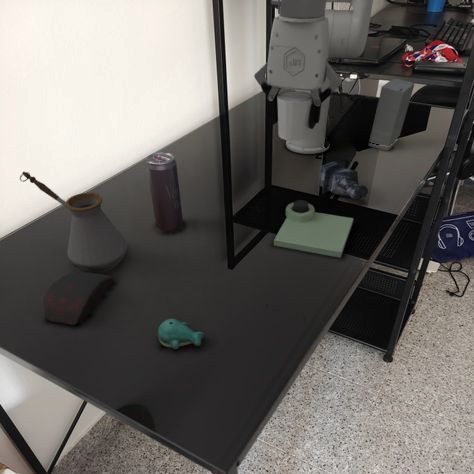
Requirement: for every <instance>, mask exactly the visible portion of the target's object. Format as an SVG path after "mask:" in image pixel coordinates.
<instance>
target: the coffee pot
mask: <svg viewBox="0 0 474 474" xmlns="http://www.w3.org/2000/svg"><path fill="white" fill-rule="evenodd" d="M23 176H24V177H25V178H26V179H24V180H22V177H23ZM19 180H20V182H23V183H24V182H26V181H28V180H29V182H30V183H31V184H34V185H35V186H36V188H38V189H39V190H40V191H42V192H43V193H44V194H46V195H48V196H49V197H50V198H52V199H53V200H55V201H56V202H58V203H60V204H61V205H62V206H63V207H64V208H66V209H67V210H69V211H70V212H71V214H72V215H71V221H70V222H71V223H70V230H69V237H68V245H67V252H66V254H67V257H68V259H69V261H71V263H72V264H74V266H75V267H78V268H80V269H82V270H85V271H88V272H90V273H102V272H106V271H109V270H112V269H113V268H115V267H117V266H118V265H119V263H120V262H121V261H122V260H123V259H124V257H125V256H126V253H127V251H128V250H127V249H128V243H127V241H126V239H125V238H124V236H123V235H122V234H121V232H120V231H119V230H118V229H117V227H116V226H115V225H114V224H113V222H112V221H111V220H110V219H109V217H108V216H107V214H106V213H105V212H104V211H103V210H102V208H101V207H102V206H101V204H102V203H103V197H102V196H101V195H100V194H99V192H81V193H78V194H74V195H72V196H70V197H68V198H67V200H64V199H62V198H61V197H60V196H59V195H58V194H57V193H55V192H54V191H53V190H52V189H51V188H49V186H47V185H46V184H45V183H43V182H41V181H40V180H37V178H36V176H32V175H31V173H29V172H27V171H22V173H21V175H20V176H19Z"/></svg>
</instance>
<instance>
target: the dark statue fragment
mask: <svg viewBox="0 0 474 474" xmlns="http://www.w3.org/2000/svg"><path fill="white" fill-rule="evenodd" d="M346 164H347V161H345V160H344V161H341V162H338V163H337V161H330V162H328V163H325V164H322V165H320V166H319V175H318V183H317V184H318V187H322V191H321V192H322V194H326V193H328V192H331V193H332V194H334V195H338V196H342V197H346V198H347V197H351V198H352V199H353V200H357V201H362V200H365V199H366V198H367V197H368V195H369V189H368V187H367V186H366V185H362V184H360V182H359V174H358V170H354V169H350V168H347V167H346Z"/></svg>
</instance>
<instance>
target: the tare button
mask: <svg viewBox="0 0 474 474" xmlns="http://www.w3.org/2000/svg"><path fill="white" fill-rule="evenodd" d="M292 203H293V211H294V212H297V213H305V212H307V211H308V204H309V202H308V201H307V200H304V199H297V200H295V201H294V202H292Z"/></svg>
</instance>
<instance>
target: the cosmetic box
mask: <svg viewBox="0 0 474 474" xmlns="http://www.w3.org/2000/svg"><path fill="white" fill-rule="evenodd" d="M414 88H415V82H412V81H407V80H403V79H399V78H392V79H391V80H389V81H388V82H386V83H385V84H383V85H382V86H381V89H380V93H379V97H378V102H377V106H376V110H375V113H374V114H375V115H374V118H373V124H372V128H371V132H370V137H369V139H368V147H370V148H371V147H372V148H375V149H379V150H382V151H387V152H388V151H389V150H390V149H392V148H393V147H394V146H395V145H396V144H397V143H398V142H399V139H400V137H399V136H401V133H402V130H403V125H404V122H405V120H406V115H407V112H408V109H409V105H410V102H411V98H412V95H413V92H414ZM398 137H399V139H398V140H397V141H396V142H395V140H396V139H397V138H398ZM369 142H371V143H369ZM394 142H395V143H394ZM372 143H375V144H372ZM393 143H394V144H393ZM376 144H379V145H376ZM391 144H393V145H392V146H390V145H391ZM380 145H385V146H390V147H385V146H380Z"/></svg>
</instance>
